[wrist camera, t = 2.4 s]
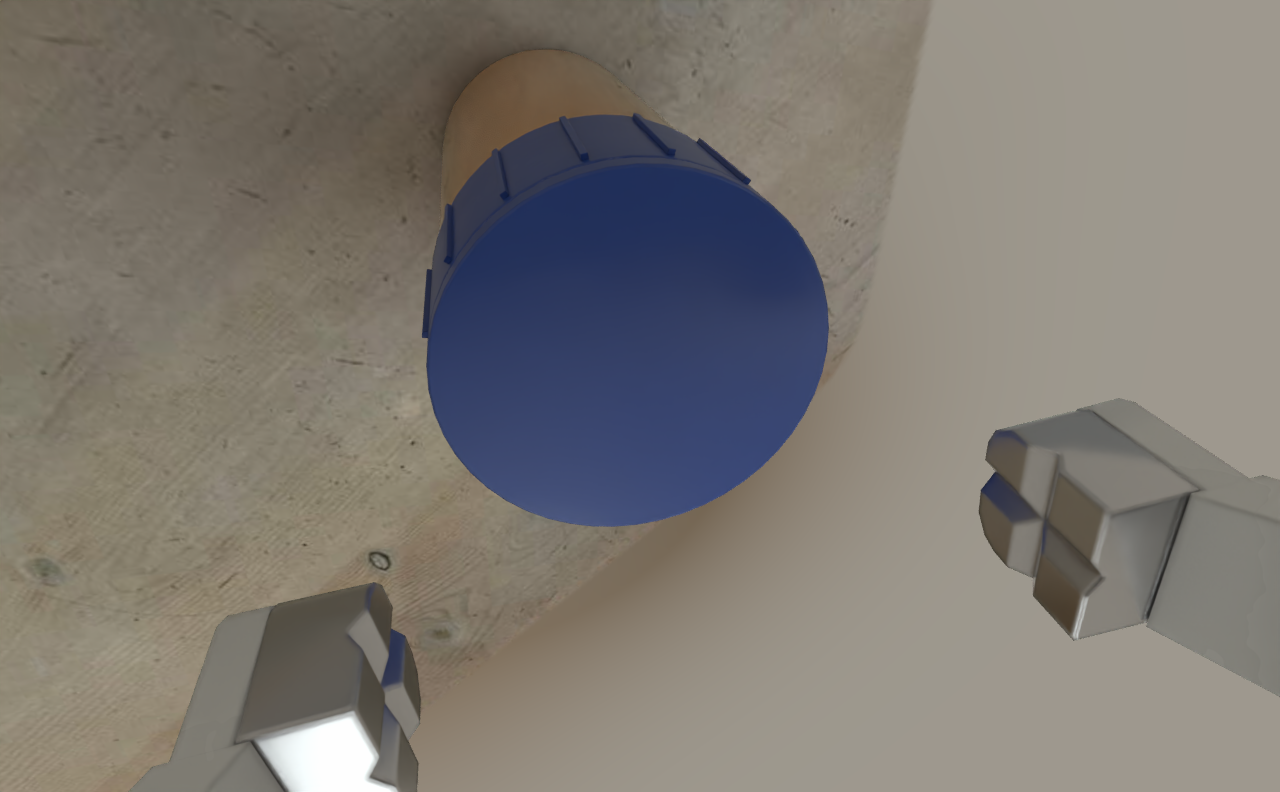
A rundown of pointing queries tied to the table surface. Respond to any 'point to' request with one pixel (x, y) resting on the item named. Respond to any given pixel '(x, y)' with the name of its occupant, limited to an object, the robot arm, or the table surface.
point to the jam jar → (526, 107)
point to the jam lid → (618, 323)
